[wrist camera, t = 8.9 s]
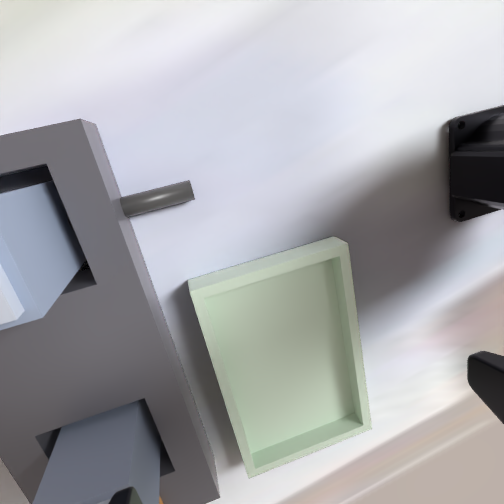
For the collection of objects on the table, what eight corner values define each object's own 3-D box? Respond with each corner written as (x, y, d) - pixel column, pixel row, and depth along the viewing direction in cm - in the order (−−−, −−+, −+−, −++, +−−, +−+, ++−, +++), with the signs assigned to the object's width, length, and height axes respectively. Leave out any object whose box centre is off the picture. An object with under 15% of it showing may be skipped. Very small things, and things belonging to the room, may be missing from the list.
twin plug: (180, 150, 17) (189, 150, 10) (201, 224, 18) (222, 270, 11) (-32, 200, 15) (-199, 242, 8) (8, 277, 17) (-108, 369, 10)
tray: (334, 236, 20) (348, 243, 19) (359, 411, 25) (371, 428, 24) (187, 279, 19) (189, 291, 17) (243, 456, 24) (248, 478, 22)
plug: (161, 425, 21) (157, 560, 14) (97, 448, 21) (61, 600, 14) (141, 375, 20) (127, 497, 13) (72, 398, 20) (18, 539, 12)
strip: (95, 124, 16) (75, 116, 12) (213, 455, 23) (221, 509, 20) (-118, 169, 14) (-207, 176, 11) (80, 507, 22) (64, 574, 18)
